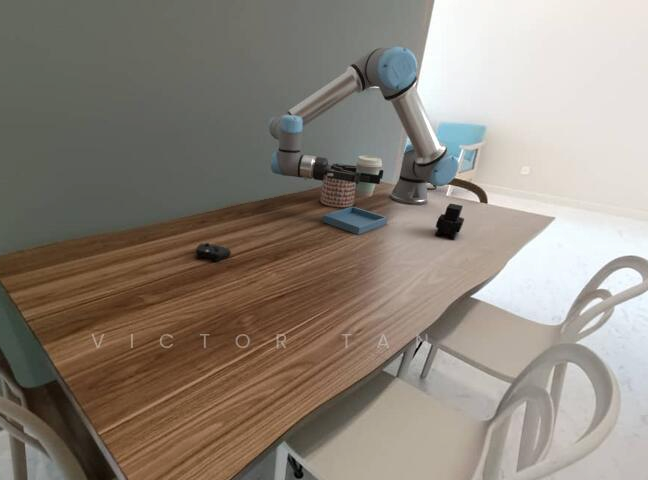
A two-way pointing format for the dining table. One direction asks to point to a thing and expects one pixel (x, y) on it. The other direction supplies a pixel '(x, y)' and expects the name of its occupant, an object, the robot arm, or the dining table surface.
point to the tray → (355, 220)
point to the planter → (337, 193)
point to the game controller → (212, 251)
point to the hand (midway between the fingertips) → (381, 177)
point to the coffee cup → (370, 167)
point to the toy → (450, 221)
